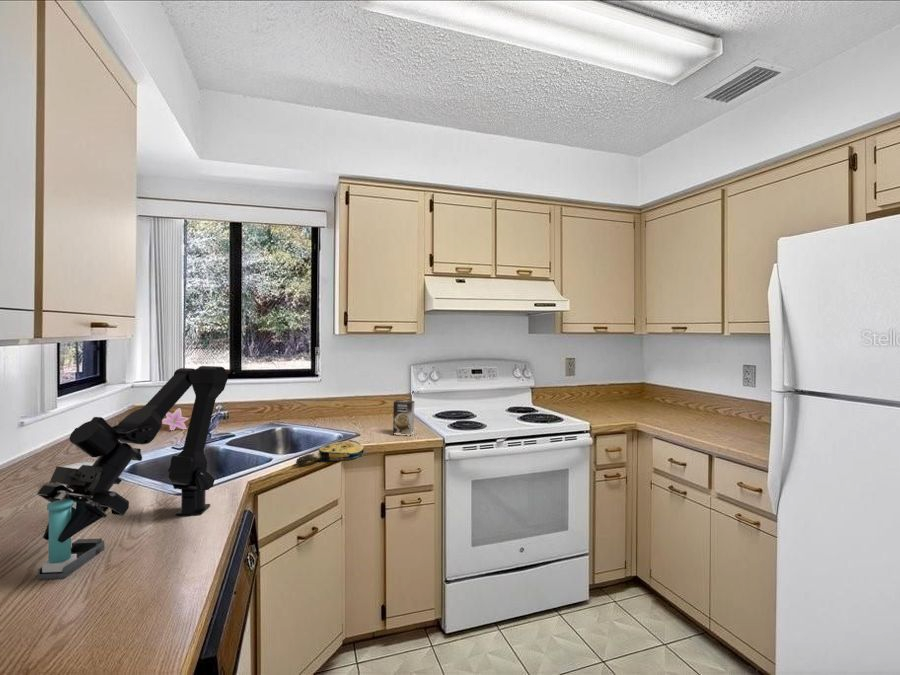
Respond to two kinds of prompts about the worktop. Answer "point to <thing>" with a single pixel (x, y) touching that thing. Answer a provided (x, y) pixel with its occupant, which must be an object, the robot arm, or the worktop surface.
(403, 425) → the coffee box
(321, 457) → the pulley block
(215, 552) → the worktop surface
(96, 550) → the track
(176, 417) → the lily
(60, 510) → the teal tall cylinder
